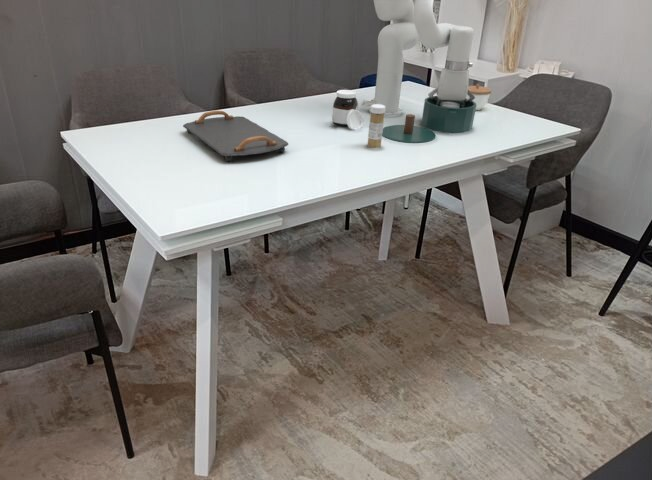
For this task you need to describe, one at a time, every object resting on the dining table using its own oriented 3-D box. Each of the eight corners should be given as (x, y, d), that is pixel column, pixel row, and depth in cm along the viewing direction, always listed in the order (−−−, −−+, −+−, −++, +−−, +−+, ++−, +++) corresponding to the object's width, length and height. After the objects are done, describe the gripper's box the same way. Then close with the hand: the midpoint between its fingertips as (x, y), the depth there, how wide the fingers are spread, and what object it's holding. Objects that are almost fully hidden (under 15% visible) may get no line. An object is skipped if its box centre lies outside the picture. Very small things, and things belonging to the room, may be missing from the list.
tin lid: (379, 142, 181) (381, 121, 178) (380, 126, 197) (383, 106, 193) (436, 146, 179) (440, 125, 175) (433, 129, 195) (436, 109, 191)
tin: (422, 134, 190) (426, 108, 185) (420, 116, 209) (423, 92, 204) (474, 138, 187) (480, 112, 183) (467, 119, 207) (472, 95, 202)
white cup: (458, 126, 194) (462, 106, 191) (439, 125, 195) (442, 106, 191) (454, 120, 200) (457, 101, 197) (435, 120, 200) (438, 101, 197)
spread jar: (339, 120, 202) (341, 87, 196) (368, 124, 198) (371, 91, 192) (326, 128, 193) (328, 94, 187) (357, 133, 189) (360, 99, 183)
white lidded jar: (454, 105, 224) (459, 81, 219) (478, 104, 227) (482, 81, 222) (468, 112, 215) (472, 88, 211) (492, 111, 218) (497, 87, 213)
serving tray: (179, 130, 187) (177, 112, 184) (240, 121, 197) (239, 104, 194) (226, 167, 159) (226, 146, 155) (295, 154, 169) (295, 135, 166)
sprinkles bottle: (375, 144, 179) (380, 103, 172) (383, 149, 176) (388, 106, 169) (364, 146, 178) (368, 104, 171) (371, 150, 174) (376, 108, 167)
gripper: (481, 65, 189) (471, 116, 199) (430, 62, 191) (422, 113, 201) (484, 69, 183) (473, 122, 192) (431, 66, 185) (423, 119, 194)
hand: (447, 117), depth 196 cm, fingers closed on white cup, 6 cm apart
